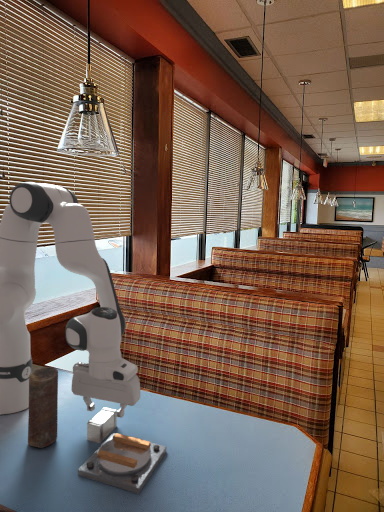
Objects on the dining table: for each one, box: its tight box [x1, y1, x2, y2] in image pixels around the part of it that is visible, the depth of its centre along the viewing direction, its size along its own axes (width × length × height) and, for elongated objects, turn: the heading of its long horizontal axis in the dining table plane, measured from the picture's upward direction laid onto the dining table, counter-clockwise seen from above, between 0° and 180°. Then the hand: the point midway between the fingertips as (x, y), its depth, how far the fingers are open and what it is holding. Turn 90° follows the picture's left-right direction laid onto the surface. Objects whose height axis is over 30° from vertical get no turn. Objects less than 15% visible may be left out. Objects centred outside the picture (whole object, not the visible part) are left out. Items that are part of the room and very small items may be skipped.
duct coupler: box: [86, 406, 118, 444], centre depth 108 cm, size 4×9×5 cm, turn 161°
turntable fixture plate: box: [77, 432, 167, 495], centre depth 95 cm, size 16×16×4 cm
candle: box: [27, 366, 59, 449], centre depth 101 cm, size 8×7×20 cm
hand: (105, 413), depth 108 cm, fingers open, 8 cm apart
